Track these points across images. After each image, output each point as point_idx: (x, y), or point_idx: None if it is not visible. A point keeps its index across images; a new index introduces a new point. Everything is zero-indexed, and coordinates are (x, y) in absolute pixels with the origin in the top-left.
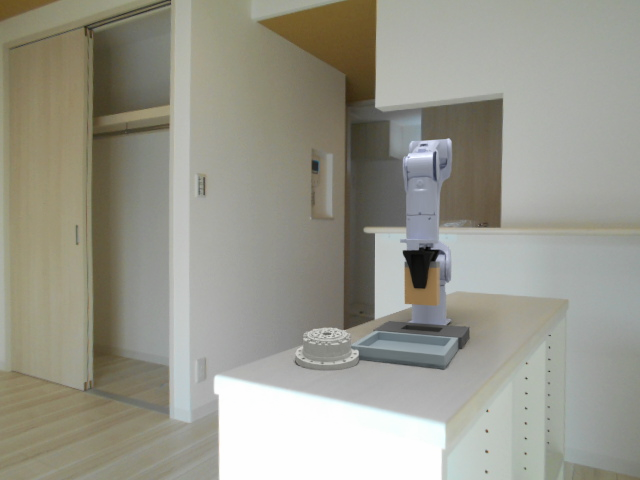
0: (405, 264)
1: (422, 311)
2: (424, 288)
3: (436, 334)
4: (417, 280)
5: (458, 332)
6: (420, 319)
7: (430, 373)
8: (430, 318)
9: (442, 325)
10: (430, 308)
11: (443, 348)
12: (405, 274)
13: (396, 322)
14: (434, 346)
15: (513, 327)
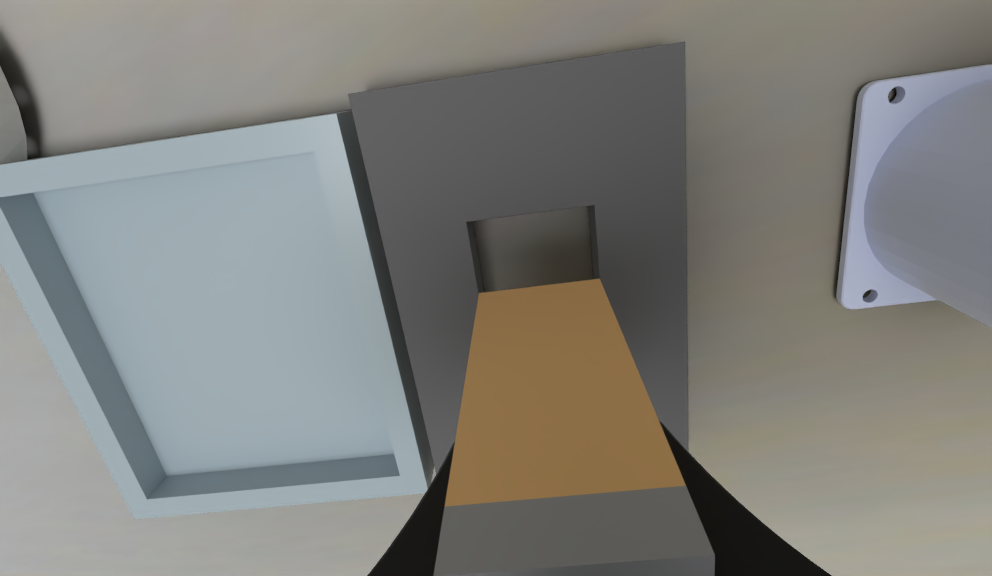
0: (438, 552)
1: (926, 209)
2: None
3: (438, 410)
4: None
5: None
6: (891, 181)
7: (95, 465)
8: (890, 248)
9: (672, 373)
10: (940, 271)
11: (220, 494)
12: (460, 445)
13: (650, 115)
14: (365, 404)
15: (982, 542)
